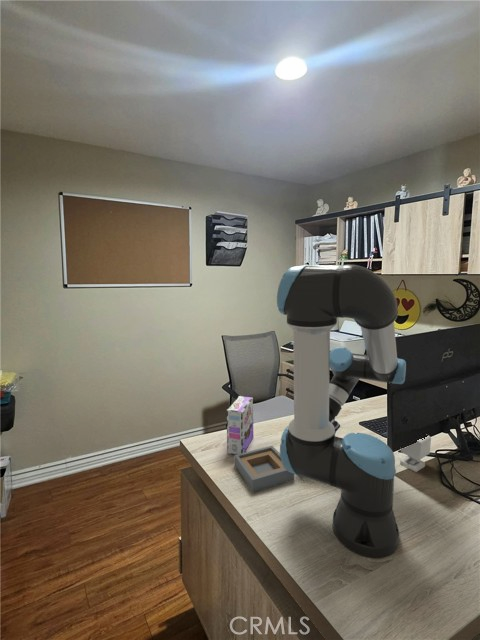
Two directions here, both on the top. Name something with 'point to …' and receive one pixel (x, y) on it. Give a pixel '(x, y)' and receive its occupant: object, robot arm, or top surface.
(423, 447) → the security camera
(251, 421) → the candy box
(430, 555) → the top surface
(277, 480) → the bore box
